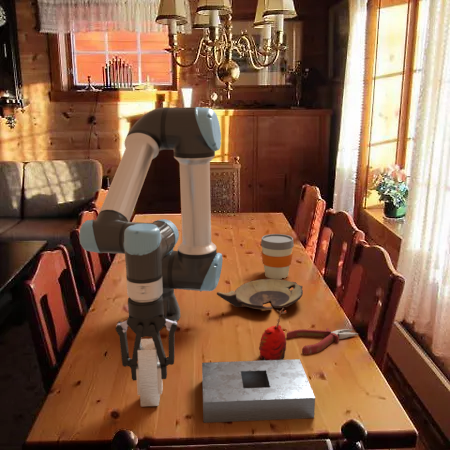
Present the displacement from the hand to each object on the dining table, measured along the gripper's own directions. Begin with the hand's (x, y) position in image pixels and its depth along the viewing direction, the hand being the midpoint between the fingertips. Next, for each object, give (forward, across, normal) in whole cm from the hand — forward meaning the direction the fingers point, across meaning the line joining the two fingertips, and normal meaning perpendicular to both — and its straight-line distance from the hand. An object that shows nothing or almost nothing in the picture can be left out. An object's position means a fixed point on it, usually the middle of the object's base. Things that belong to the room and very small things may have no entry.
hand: (150, 391), depth 112 cm
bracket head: (+3, +24, 0) cm, 24 cm away
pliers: (+4, +47, +25) cm, 53 cm away
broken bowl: (+4, +32, +53) cm, 62 cm away
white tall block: (+2, 0, 0) cm, 2 cm away
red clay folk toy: (+3, +31, +18) cm, 36 cm away
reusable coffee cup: (+4, +42, +80) cm, 90 cm away
